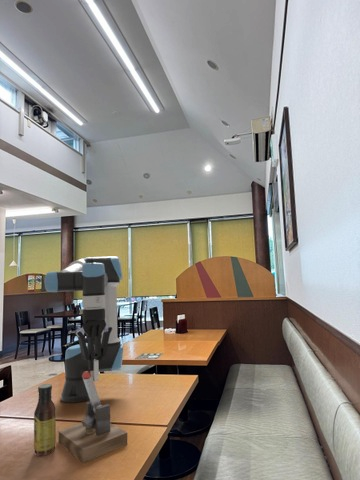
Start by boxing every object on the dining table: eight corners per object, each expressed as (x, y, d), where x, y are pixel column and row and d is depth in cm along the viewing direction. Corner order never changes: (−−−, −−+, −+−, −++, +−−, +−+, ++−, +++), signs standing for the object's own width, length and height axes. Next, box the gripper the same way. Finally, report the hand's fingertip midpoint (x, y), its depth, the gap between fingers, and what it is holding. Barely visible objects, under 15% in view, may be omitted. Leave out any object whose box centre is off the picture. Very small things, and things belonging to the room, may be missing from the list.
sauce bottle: (37, 447, 104) (38, 382, 107) (58, 446, 105) (58, 381, 108) (30, 458, 98) (31, 389, 101) (51, 456, 99) (52, 387, 101)
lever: (82, 425, 107) (67, 379, 105) (100, 412, 111) (86, 368, 110) (89, 429, 103) (73, 382, 102) (107, 416, 108) (92, 370, 107)
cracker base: (58, 442, 107) (58, 405, 109) (99, 427, 117) (99, 393, 119) (83, 463, 94) (83, 420, 96) (127, 444, 104) (126, 406, 106)
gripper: (80, 310, 105) (81, 387, 102) (116, 306, 114) (117, 377, 111) (70, 309, 110) (71, 382, 107) (105, 306, 119) (106, 373, 116)
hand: (94, 380), depth 109 cm, fingers closed
